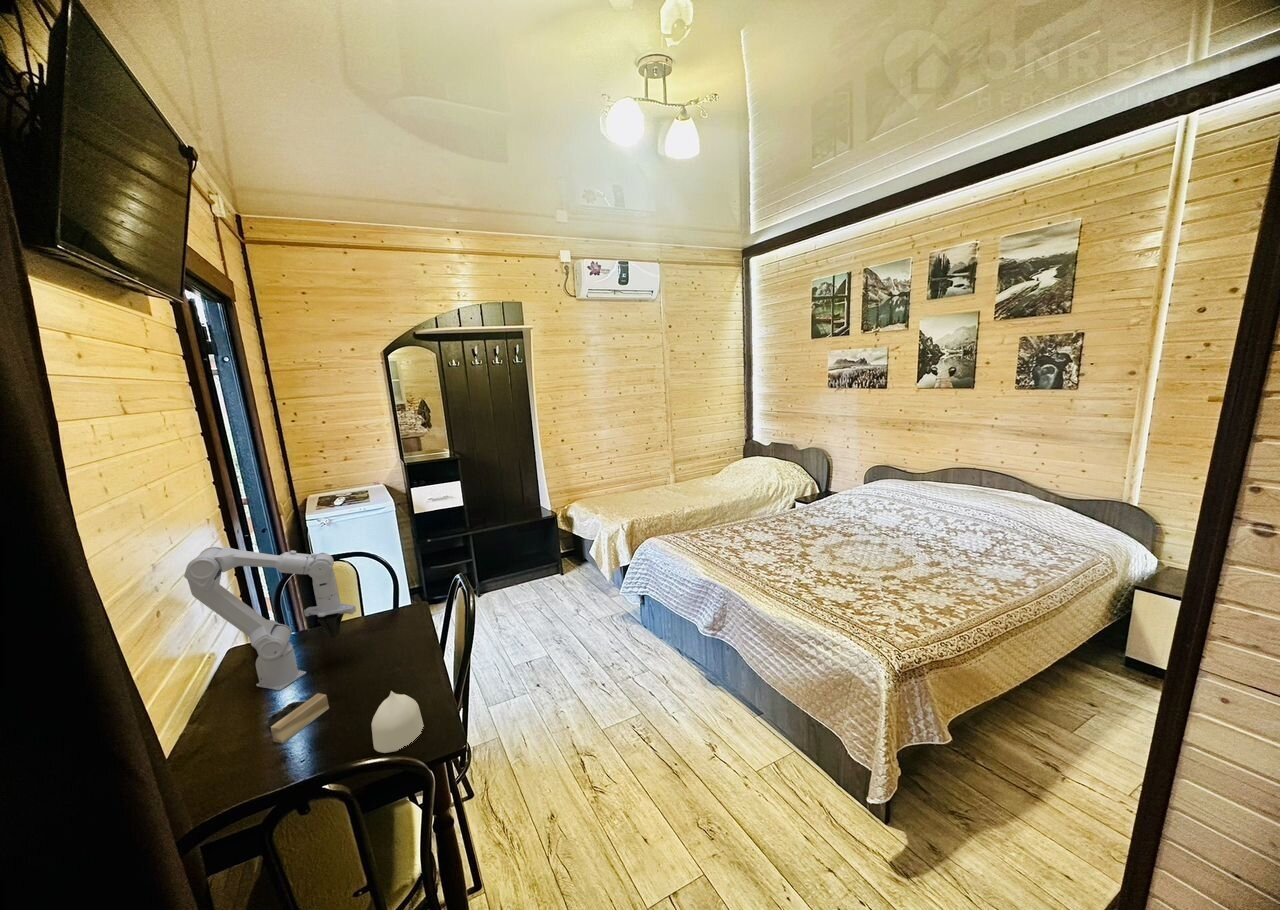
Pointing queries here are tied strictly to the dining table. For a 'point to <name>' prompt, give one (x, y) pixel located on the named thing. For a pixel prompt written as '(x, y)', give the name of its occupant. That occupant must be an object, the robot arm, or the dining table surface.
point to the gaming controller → (283, 713)
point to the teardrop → (396, 723)
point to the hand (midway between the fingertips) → (335, 635)
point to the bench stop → (299, 718)
